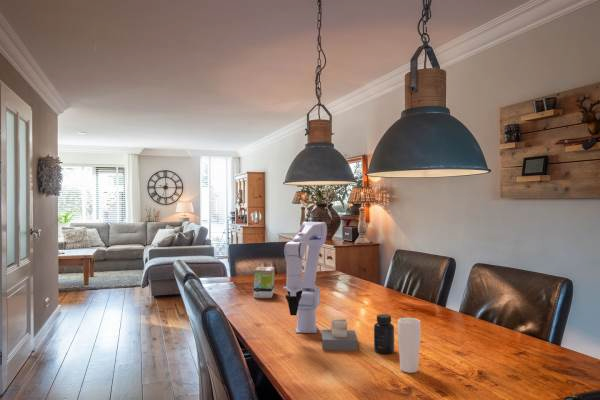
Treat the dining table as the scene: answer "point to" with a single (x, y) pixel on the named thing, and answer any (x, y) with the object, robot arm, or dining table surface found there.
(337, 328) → the birch block
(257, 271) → the tea box
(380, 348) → the supplement bottle
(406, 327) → the drinking glass
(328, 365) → the dining table surface
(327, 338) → the charcoal box
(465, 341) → the dining table surface
